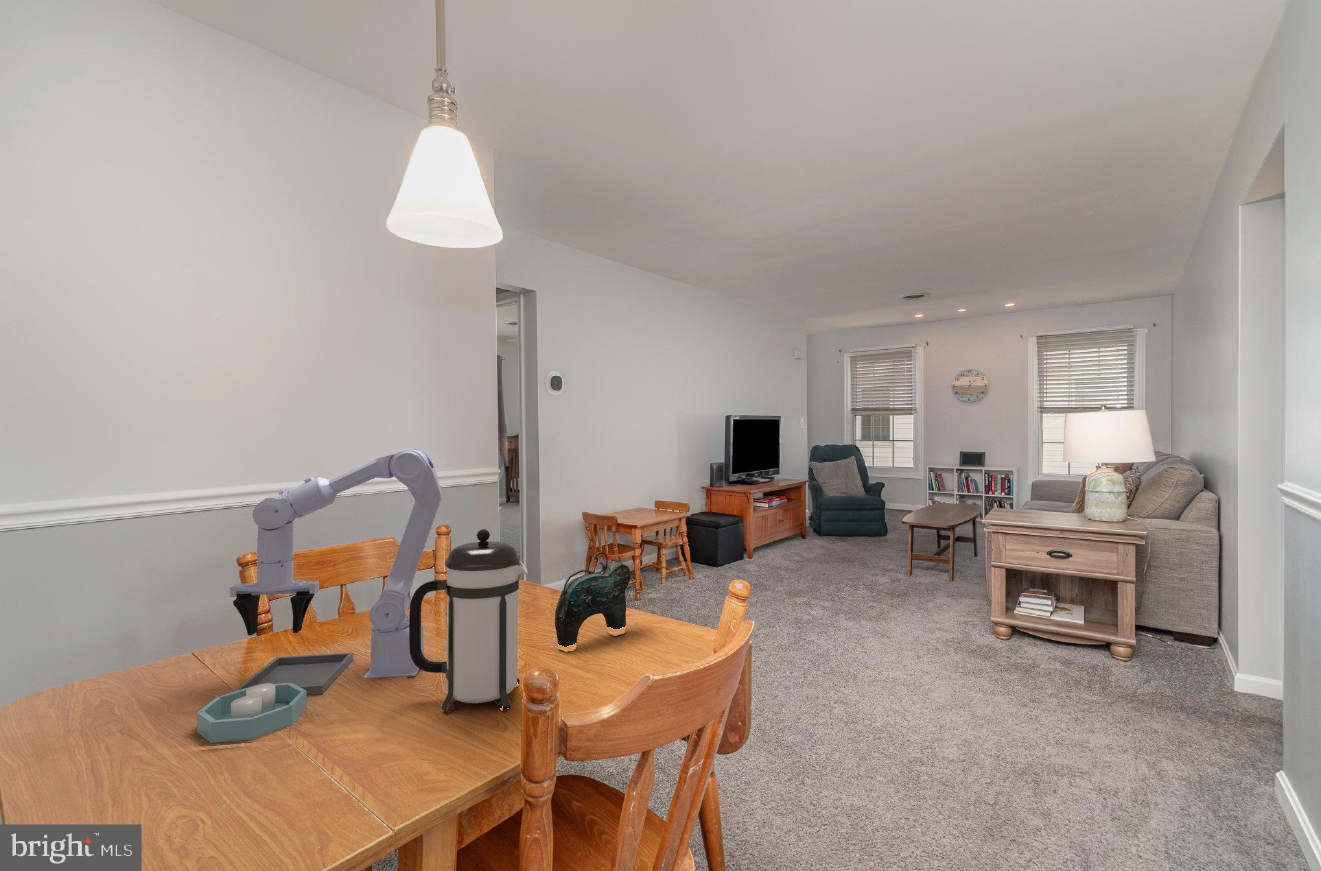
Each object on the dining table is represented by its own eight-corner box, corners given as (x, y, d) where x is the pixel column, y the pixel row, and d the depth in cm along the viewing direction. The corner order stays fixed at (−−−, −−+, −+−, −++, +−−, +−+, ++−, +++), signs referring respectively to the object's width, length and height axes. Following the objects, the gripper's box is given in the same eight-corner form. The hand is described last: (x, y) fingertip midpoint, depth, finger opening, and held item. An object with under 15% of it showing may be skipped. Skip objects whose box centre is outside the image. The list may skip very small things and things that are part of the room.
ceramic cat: (618, 628, 142) (618, 546, 142) (636, 634, 137) (636, 549, 138) (550, 649, 128) (550, 557, 128) (568, 657, 123) (568, 562, 123)
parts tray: (353, 662, 120) (353, 652, 120) (322, 697, 104) (322, 685, 104) (276, 667, 117) (276, 657, 117) (232, 703, 101) (232, 691, 101)
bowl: (315, 701, 102) (316, 681, 102) (280, 740, 89) (280, 717, 89) (230, 707, 100) (230, 686, 100) (180, 748, 86) (181, 724, 86)
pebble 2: (277, 705, 99) (277, 681, 99) (272, 715, 95) (272, 691, 96) (249, 709, 98) (249, 685, 98) (243, 720, 94) (243, 695, 94)
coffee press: (496, 672, 115) (497, 520, 115) (541, 698, 103) (542, 529, 103) (407, 700, 102) (408, 529, 103) (447, 733, 91) (447, 541, 91)
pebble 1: (262, 717, 95) (262, 693, 95) (261, 727, 91) (261, 702, 91) (231, 724, 93) (232, 698, 93) (229, 734, 89) (229, 708, 89)
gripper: (325, 555, 115) (325, 623, 115) (243, 557, 112) (243, 628, 112) (310, 562, 108) (310, 635, 108) (223, 565, 106) (223, 640, 105)
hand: (275, 632), depth 110 cm, fingers open, 7 cm apart
